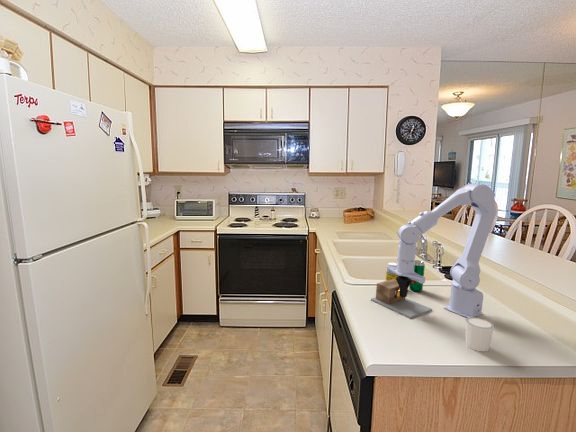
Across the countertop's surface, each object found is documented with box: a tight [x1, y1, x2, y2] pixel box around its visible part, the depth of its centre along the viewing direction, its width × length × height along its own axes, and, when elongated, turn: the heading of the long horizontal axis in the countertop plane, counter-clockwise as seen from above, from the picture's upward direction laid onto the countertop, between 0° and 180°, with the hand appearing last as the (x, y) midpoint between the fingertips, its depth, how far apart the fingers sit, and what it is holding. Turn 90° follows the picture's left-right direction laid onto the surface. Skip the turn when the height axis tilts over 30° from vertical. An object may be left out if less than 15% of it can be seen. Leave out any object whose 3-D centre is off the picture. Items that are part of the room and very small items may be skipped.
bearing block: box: [375, 279, 406, 305], centre depth 118 cm, size 6×9×6 cm, turn 123°
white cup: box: [464, 317, 495, 353], centre depth 88 cm, size 7×7×7 cm
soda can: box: [408, 259, 426, 293], centre depth 129 cm, size 5×5×12 cm
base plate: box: [370, 296, 433, 320], centre depth 115 cm, size 17×12×1 cm
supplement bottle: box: [385, 262, 398, 281], centre depth 133 cm, size 5×5×10 cm
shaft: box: [395, 289, 403, 300], centre depth 118 cm, size 10×4×4 cm, turn 33°
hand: (403, 296), depth 113 cm, fingers closed, pressing on shaft
